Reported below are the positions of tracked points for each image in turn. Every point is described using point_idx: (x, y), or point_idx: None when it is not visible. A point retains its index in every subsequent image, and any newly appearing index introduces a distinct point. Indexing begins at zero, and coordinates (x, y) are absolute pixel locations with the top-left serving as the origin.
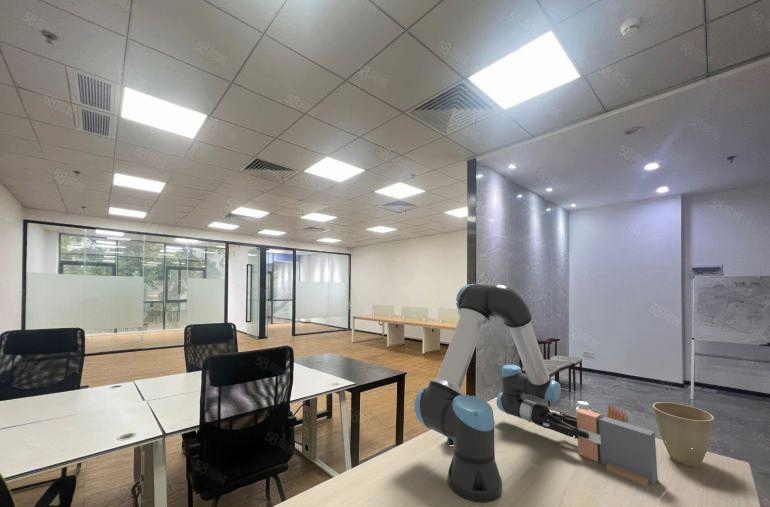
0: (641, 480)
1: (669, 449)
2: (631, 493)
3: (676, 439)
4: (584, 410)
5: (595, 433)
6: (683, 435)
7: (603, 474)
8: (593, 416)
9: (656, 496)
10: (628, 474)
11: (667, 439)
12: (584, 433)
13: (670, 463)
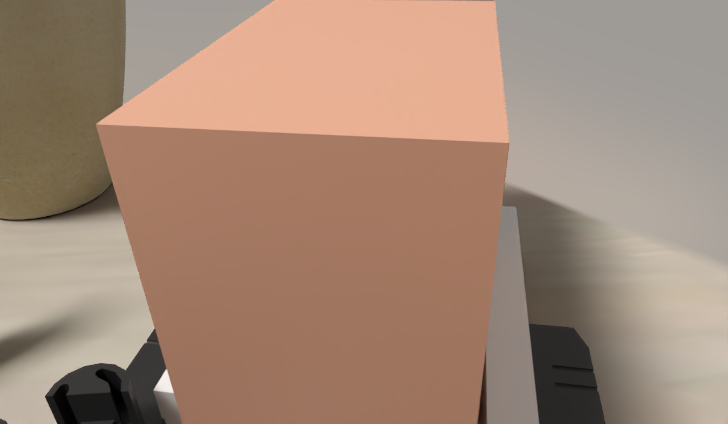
0: (519, 235)
1: (65, 160)
2: (662, 278)
3: (104, 58)
4: (236, 84)
5: (501, 239)
6: (119, 9)
7: (614, 417)
8: (489, 8)
9: (557, 220)
10: (523, 273)
11: (63, 99)
12: (587, 359)
13: (121, 215)
